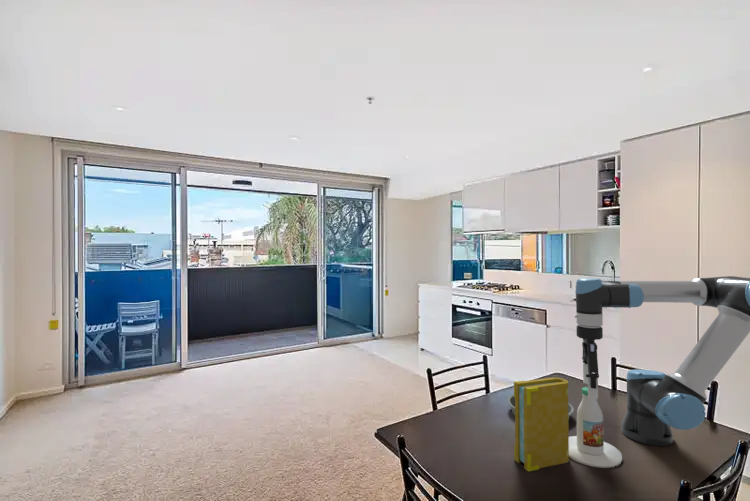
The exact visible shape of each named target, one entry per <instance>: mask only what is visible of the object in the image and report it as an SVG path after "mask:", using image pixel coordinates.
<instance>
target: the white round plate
mask: <svg viewBox="0 0 750 501" xmlns="http://www.w3.org/2000/svg"><path fill="white" fill-rule="evenodd" d="M569 460H572V461H574V462H577V463H579V464H581V465H586V466H589V467H592V468H600V469H601V468H602V469H610V468H616V467H619V466H620V465H622V463H623V454H622V452H621V451H620V450H619V449H618V448H617V447H615V446H614V445H612V444H611V443H609V442H605V441H604V451H603V453H602V454H601V455H590V454H586V453H584V452H582V451H580V450H579V449H578V447H577V435H572V436H571V435H570V436H569ZM621 462H622V463H621ZM619 464H620V465H619ZM615 466H616V467H615Z"/></svg>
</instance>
